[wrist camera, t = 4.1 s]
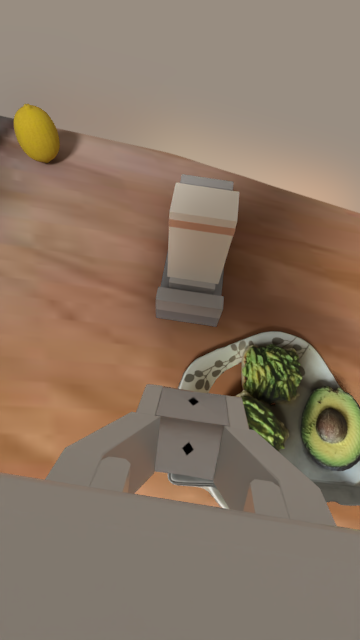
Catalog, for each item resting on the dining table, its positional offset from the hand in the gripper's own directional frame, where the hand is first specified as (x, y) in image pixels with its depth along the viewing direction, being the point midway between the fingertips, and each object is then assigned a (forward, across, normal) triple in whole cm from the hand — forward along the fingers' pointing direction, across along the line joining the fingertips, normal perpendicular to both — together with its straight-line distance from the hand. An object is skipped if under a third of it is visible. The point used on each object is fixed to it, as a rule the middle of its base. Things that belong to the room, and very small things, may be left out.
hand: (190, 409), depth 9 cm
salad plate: (+18, -9, +12) cm, 24 cm away
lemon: (+41, +25, -12) cm, 50 cm away
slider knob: (+26, +1, 0) cm, 26 cm away
